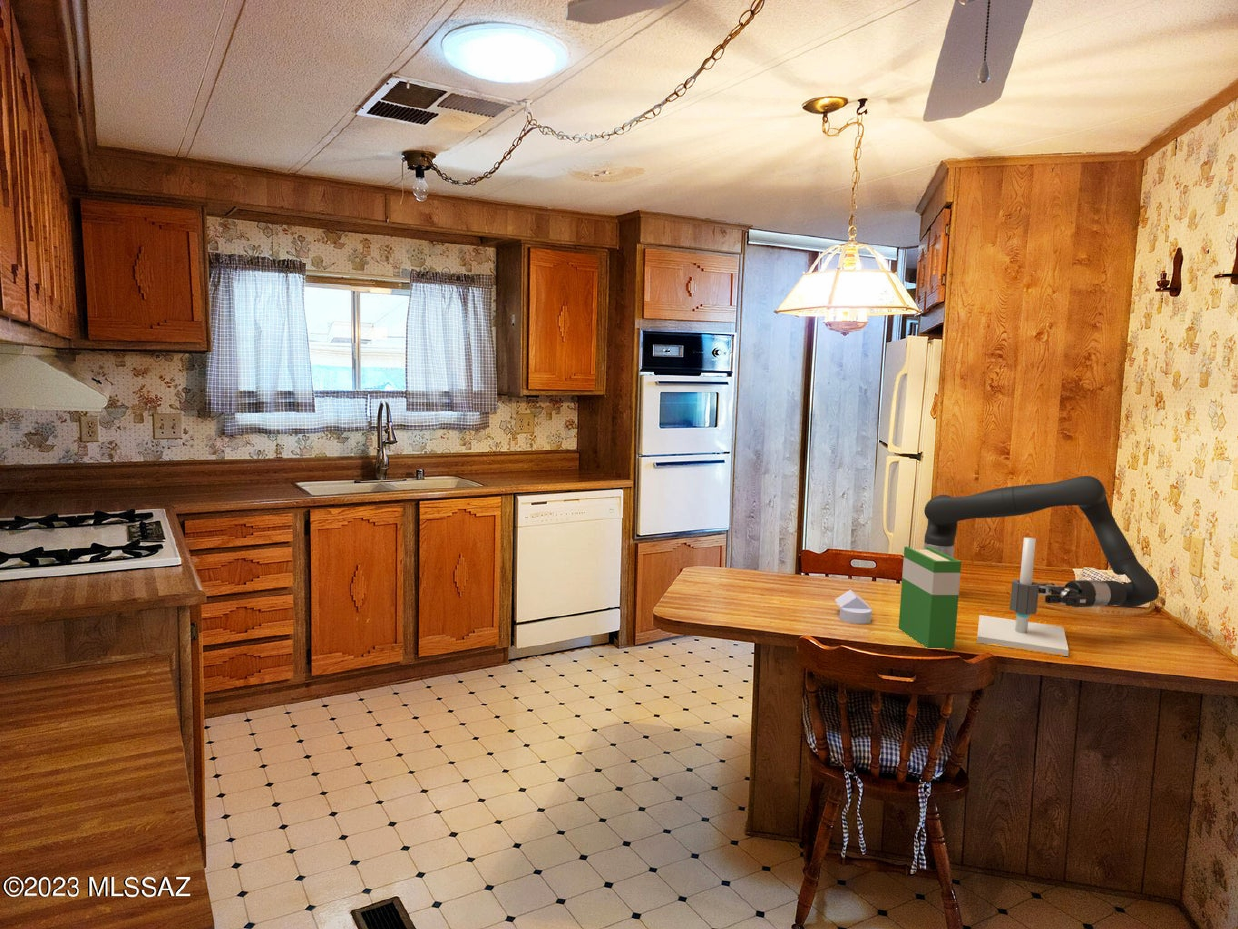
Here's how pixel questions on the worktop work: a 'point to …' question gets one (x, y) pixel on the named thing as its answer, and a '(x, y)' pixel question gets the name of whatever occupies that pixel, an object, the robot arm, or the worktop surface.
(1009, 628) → the post board
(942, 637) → the hardback book
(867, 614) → the wedge on round base
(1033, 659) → the worktop surface
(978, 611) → the worktop surface
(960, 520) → the robot arm
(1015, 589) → the collar
